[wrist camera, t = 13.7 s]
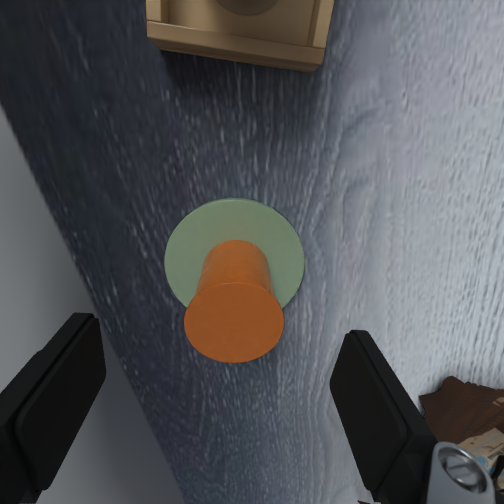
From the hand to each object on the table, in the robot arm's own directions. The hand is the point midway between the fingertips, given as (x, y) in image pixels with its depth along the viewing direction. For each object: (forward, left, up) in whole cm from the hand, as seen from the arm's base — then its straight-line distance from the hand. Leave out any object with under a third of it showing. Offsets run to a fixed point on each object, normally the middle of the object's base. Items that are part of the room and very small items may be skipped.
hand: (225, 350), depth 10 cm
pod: (0, 0, -8) cm, 8 cm away
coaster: (0, 0, -8) cm, 8 cm away
